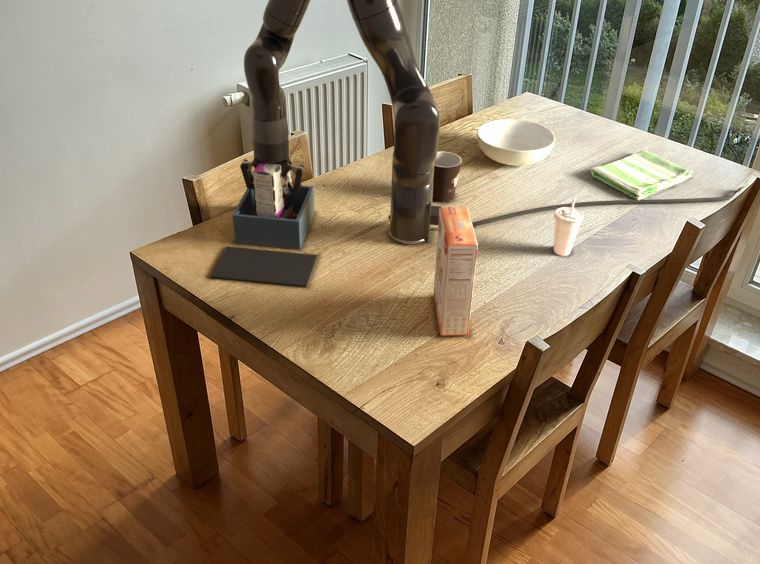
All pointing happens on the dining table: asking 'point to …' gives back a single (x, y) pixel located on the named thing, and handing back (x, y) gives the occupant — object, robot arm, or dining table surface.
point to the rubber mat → (265, 266)
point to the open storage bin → (273, 222)
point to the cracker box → (454, 270)
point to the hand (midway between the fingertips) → (274, 206)
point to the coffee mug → (445, 176)
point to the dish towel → (641, 174)
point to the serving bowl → (515, 141)
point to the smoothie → (566, 228)
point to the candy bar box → (270, 191)
